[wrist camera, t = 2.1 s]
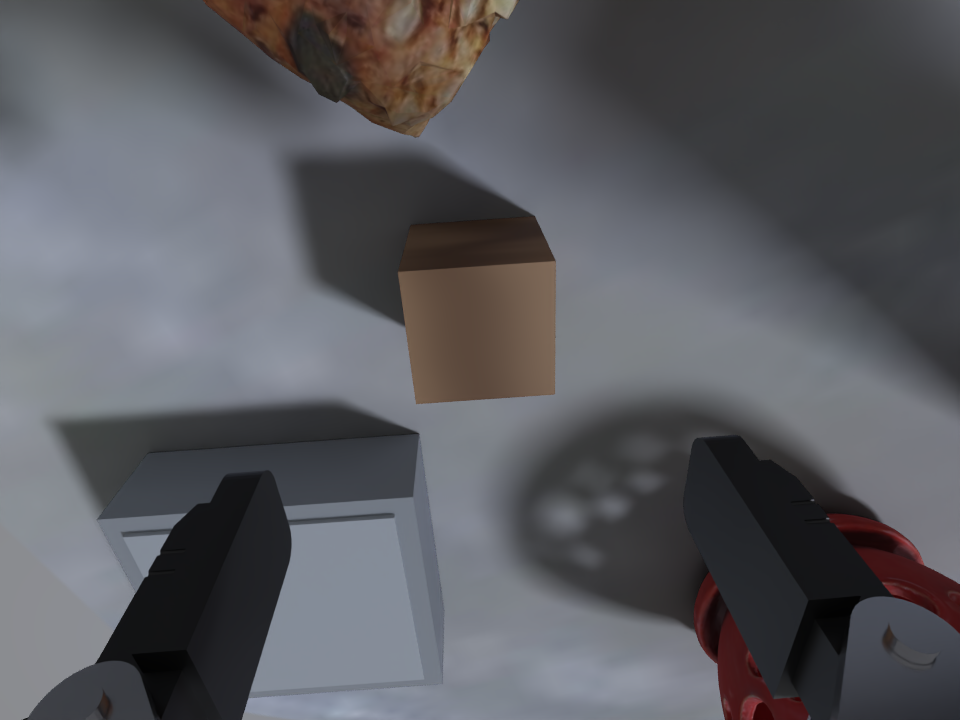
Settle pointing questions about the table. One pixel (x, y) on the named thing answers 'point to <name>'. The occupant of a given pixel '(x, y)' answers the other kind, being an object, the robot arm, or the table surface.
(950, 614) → the plant pot
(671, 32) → the table surface
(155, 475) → the pedestal
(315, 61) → the bread
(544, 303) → the walnut cube
